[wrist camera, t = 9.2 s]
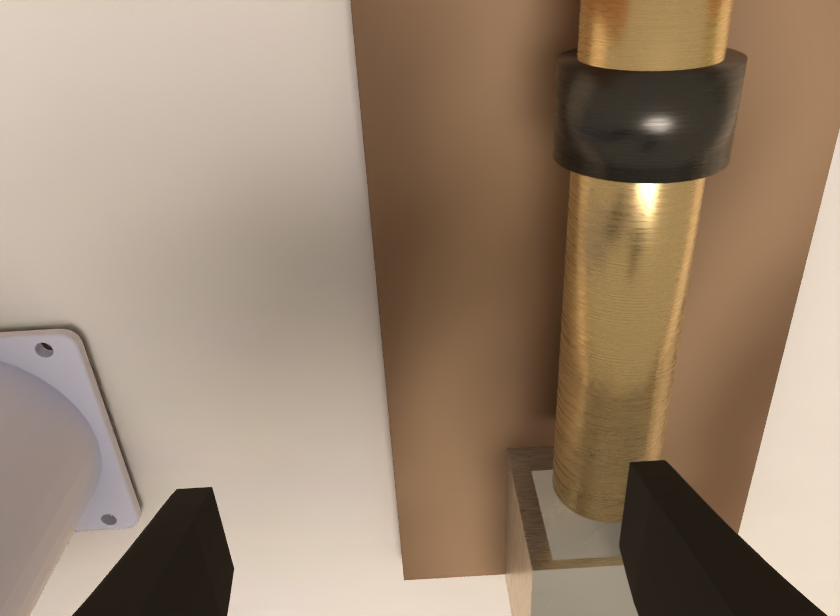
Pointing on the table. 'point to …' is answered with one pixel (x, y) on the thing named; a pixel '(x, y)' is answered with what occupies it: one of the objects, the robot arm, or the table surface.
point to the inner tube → (632, 224)
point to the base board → (564, 252)
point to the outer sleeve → (558, 548)
